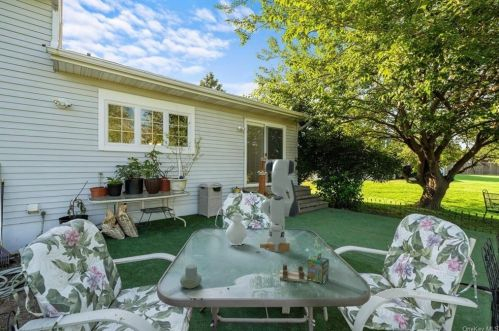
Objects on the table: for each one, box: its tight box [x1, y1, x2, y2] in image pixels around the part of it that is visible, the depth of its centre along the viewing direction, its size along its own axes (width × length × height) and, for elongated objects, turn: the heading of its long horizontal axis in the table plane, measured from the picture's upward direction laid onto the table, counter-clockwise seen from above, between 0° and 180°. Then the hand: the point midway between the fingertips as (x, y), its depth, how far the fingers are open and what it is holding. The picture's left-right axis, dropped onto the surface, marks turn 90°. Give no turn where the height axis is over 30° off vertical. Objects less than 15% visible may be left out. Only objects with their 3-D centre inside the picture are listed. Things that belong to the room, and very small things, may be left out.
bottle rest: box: [279, 263, 308, 283], centre depth 143 cm, size 11×15×5 cm
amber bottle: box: [259, 242, 291, 253], centre depth 145 cm, size 5×17×5 cm
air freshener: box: [179, 264, 203, 290], centre depth 129 cm, size 11×8×10 cm
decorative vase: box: [225, 212, 249, 246], centre depth 205 cm, size 18×18×25 cm
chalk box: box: [307, 252, 330, 284], centre depth 141 cm, size 9×9×15 cm
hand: (276, 248), depth 144 cm, fingers closed on amber bottle, 5 cm apart
